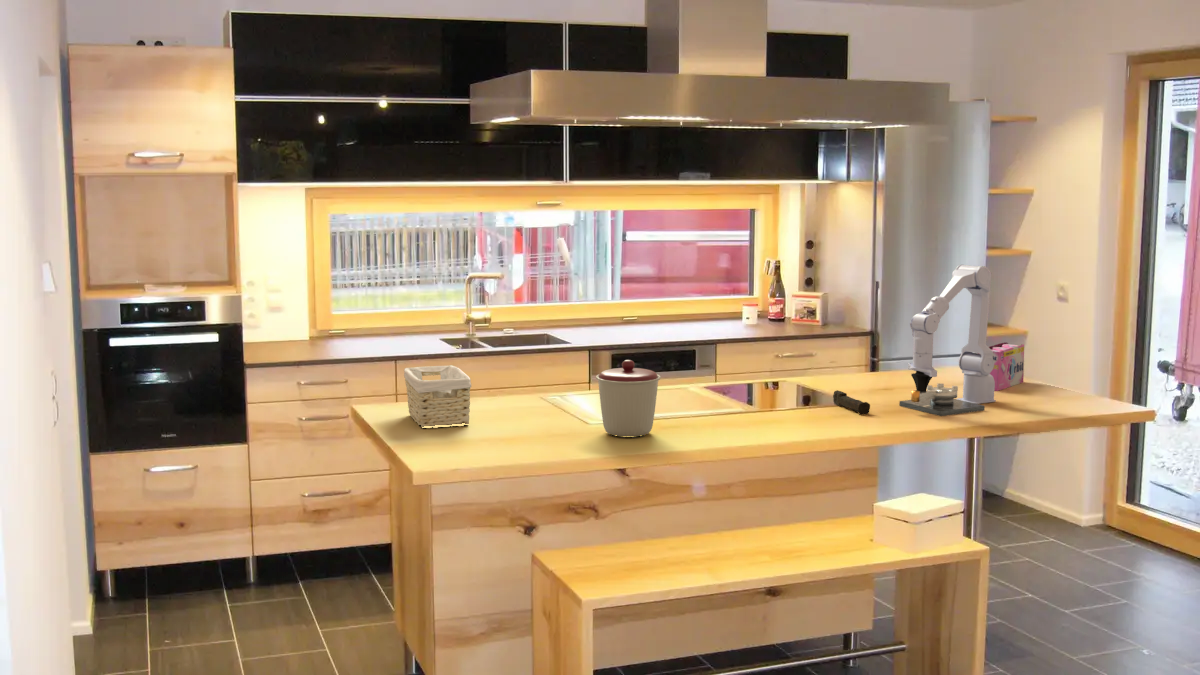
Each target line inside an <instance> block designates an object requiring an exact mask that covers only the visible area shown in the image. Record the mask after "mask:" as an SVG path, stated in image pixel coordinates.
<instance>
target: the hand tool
mask: <svg viewBox="0 0 1200 675" xmlns="http://www.w3.org/2000/svg"><path fill="white" fill-rule="evenodd" d="M832 398H833V399H832V401H833V403H834V405H836V406H837V407H845V408H847V409H850V410H852V411H854V412H857V413H858V415H868V414H869V413H870V409H871V404H870V403H869V402H867V401H862V400H860V399H856V398H854V397H850V396H848V395H847V392H844V391H841V390H837V389H836V390H834V392H833V395H832Z"/></svg>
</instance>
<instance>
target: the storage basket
mask: <svg viewBox="0 0 1200 675" xmlns="http://www.w3.org/2000/svg"><path fill="white" fill-rule="evenodd" d="M403 373H404V374H403V376H404V382H405V386H406V395H407V397H406V398H407V406H408V413H409V415H410V417H411V418H412V420H414V422H415V423H416V422H417V423H418V424H417V423H416V424H417V425H418V426H419V425H421V427H424V426H435V425H452V424H462V423H465V424H469V425H470V406H471V405H470V404H471V400H470V399H471V388H472V382H471V377H470V376H469V375H468V374H466V373H465V372H464V371H463V370H462V369H461V368H459V367H458V366H455V365H452V364H450V365H435V366H434V365H433V366H431V365H430V366H416V367H405V368H404V370H403ZM438 375H439V376H440V379H431V380H428V379H424V380H423V377H424V376H426V377H427V376H438ZM421 427H420V428H421Z"/></svg>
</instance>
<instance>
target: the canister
mask: <svg viewBox="0 0 1200 675" xmlns="http://www.w3.org/2000/svg"><path fill="white" fill-rule="evenodd" d="M621 366H622V367H618V368H617V367H616V368H610V369H605V370H603V371H601V372H600V373H599V374H597V375H596V376H595V379H596V380H597V381H598V392H599V401H600V402H599V403H600V410H601V411H600V412H601V416H602V424H603V427H604V430H605V432H606V433H607V434H608V433H609V434H608V435H610V434H612V435H617V436H640V435H644V436H646V435H645V434H647V435H649V434H650V432H651V431H652V429H653V424H654V421H655V420H654V419H655V412H656V404H657V394H658V388H659V381H660V380H661V378H662V377H661V375H660V374H658V373H656V371H654V370H651V369H646V368H640V367H635V362H634V361H633V360H631V359H625V360H624V361H622V363H621ZM612 435H611V436H612ZM640 437H641V436H640Z"/></svg>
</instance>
